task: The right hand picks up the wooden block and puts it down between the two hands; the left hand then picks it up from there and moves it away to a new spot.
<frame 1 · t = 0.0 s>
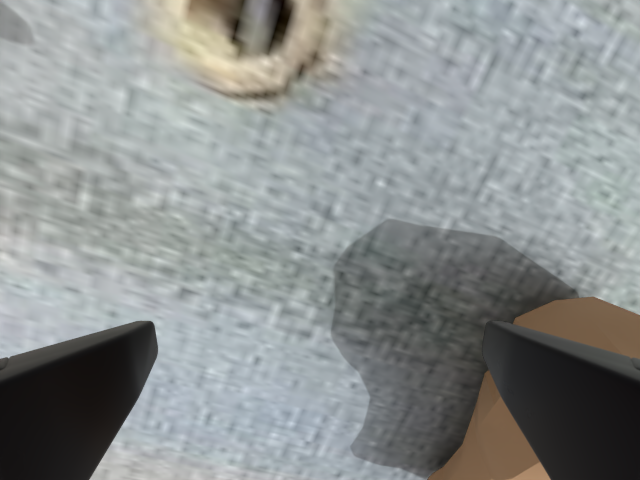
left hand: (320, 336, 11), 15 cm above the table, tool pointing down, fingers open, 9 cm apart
squash: (514, 396, 30), on the table
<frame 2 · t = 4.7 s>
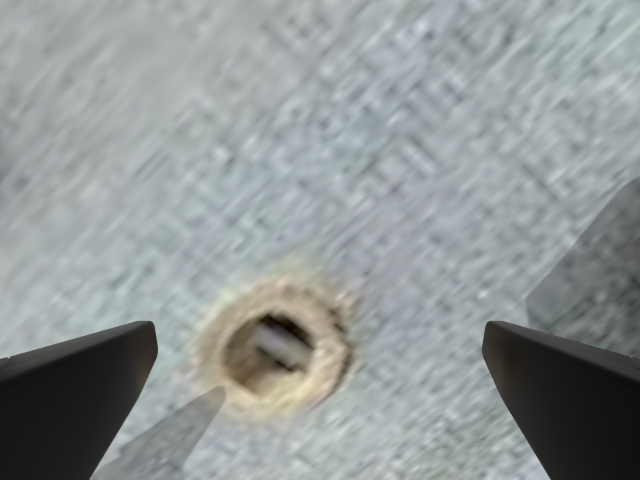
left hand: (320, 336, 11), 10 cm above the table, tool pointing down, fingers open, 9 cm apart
when the right hand's fingers open (0 cm above the table, at t = 11.1 s): block stays where it is, on the table.
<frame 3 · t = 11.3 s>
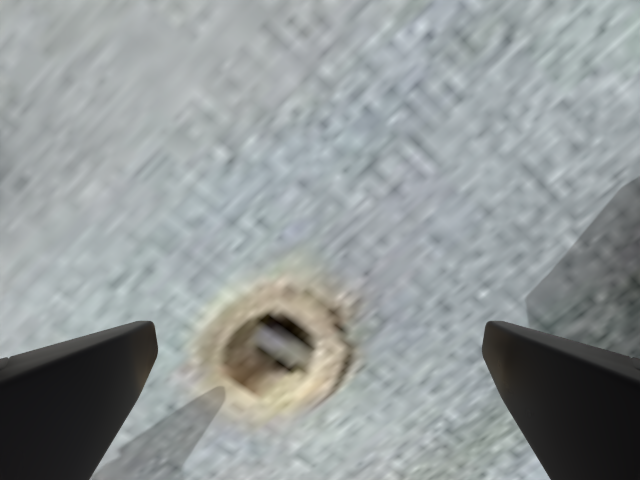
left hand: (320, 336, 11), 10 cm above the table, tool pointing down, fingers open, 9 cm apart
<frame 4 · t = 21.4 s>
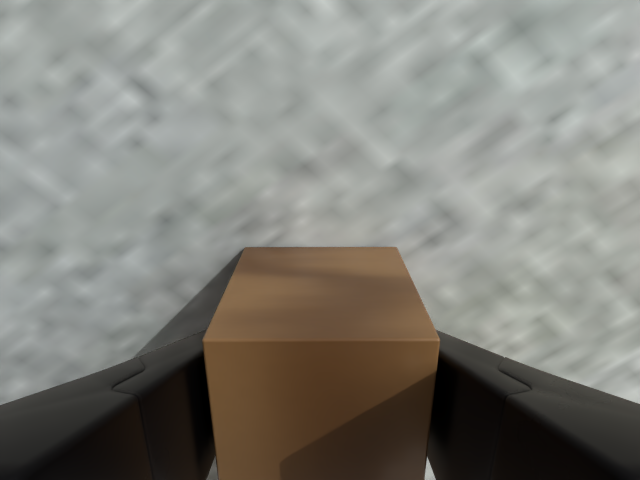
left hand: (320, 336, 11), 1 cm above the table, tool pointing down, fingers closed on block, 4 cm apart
block: (320, 315, 12), on the table, touching left hand
when the left hand's fingers open (2 cm above the table, at t = 30.3 s): block stays where it is, on the table.
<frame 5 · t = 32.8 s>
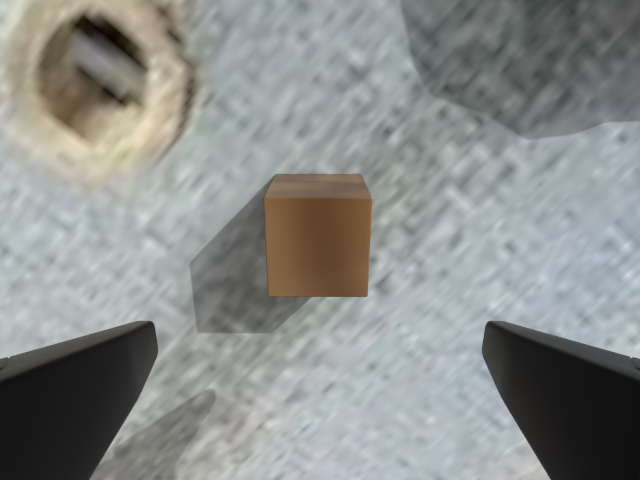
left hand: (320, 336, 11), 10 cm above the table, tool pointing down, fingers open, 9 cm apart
block: (318, 216, 21), on the table
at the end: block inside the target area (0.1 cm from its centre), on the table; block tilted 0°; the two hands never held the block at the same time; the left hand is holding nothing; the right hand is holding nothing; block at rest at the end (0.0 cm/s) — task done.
